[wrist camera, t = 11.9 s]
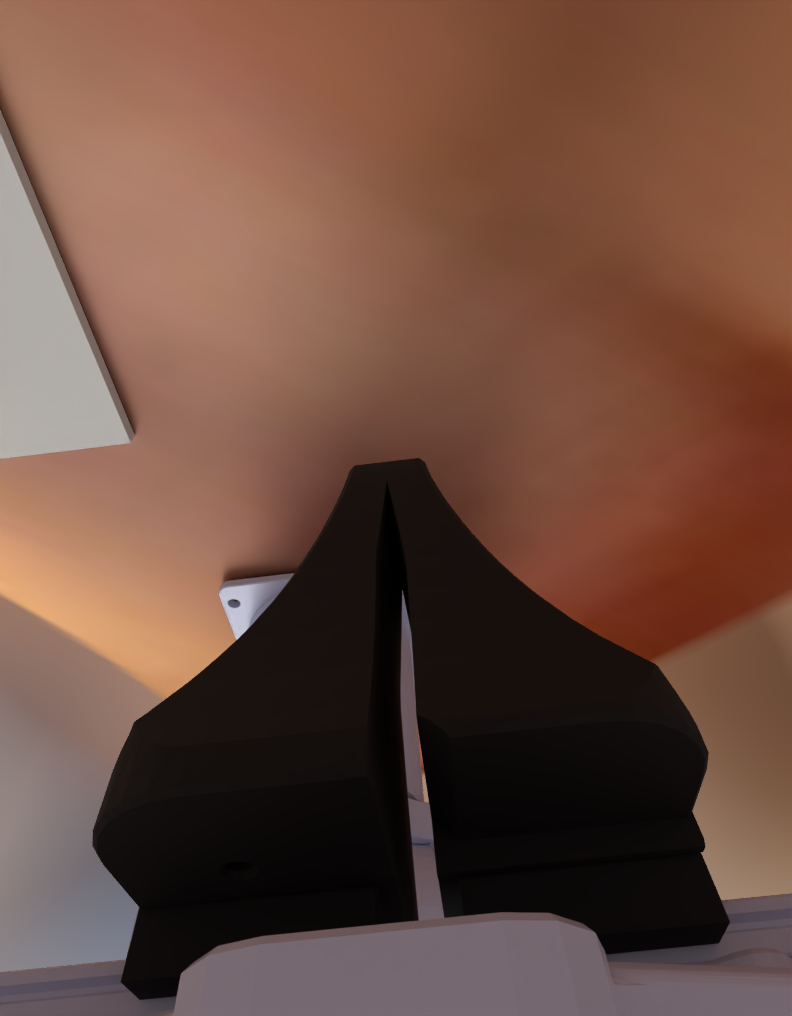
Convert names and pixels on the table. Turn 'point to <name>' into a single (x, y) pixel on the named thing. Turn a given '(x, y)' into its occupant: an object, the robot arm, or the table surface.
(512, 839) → the robot arm
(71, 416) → the mat
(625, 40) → the table surface
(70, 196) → the table surface
